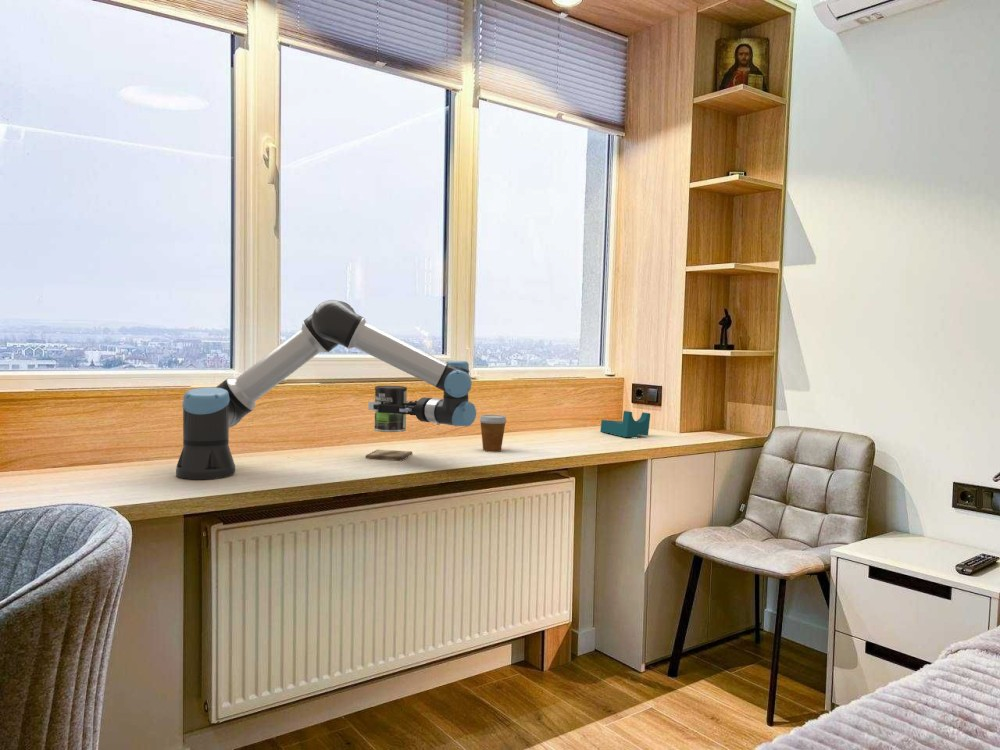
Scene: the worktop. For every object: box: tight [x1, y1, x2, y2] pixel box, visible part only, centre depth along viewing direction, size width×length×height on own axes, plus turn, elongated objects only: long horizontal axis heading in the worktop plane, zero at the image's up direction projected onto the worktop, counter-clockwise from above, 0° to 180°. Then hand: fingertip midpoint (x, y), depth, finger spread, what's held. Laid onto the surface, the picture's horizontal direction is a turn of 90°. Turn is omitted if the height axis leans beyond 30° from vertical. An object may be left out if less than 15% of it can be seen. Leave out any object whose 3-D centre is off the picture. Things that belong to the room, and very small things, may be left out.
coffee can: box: [374, 385, 408, 433], centre depth 241 cm, size 10×10×14 cm
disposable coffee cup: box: [478, 414, 508, 452], centre depth 260 cm, size 10×10×12 cm
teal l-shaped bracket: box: [599, 410, 651, 438], centre depth 309 cm, size 18×11×10 cm, turn 28°
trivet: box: [365, 449, 413, 461], centre depth 242 cm, size 12×12×1 cm
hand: (381, 404), depth 243 cm, fingers closed on coffee can, 10 cm apart
